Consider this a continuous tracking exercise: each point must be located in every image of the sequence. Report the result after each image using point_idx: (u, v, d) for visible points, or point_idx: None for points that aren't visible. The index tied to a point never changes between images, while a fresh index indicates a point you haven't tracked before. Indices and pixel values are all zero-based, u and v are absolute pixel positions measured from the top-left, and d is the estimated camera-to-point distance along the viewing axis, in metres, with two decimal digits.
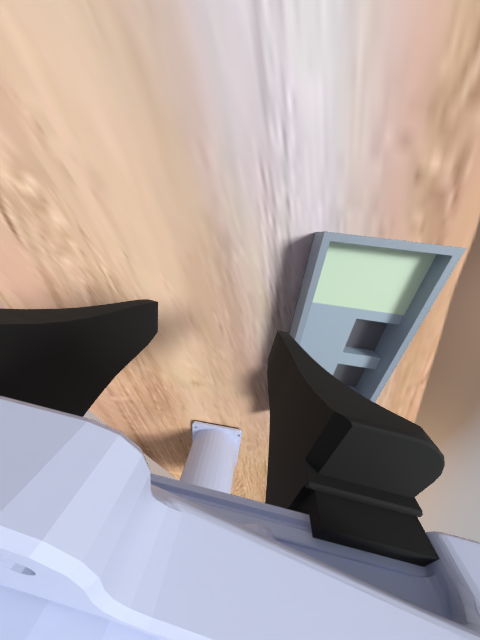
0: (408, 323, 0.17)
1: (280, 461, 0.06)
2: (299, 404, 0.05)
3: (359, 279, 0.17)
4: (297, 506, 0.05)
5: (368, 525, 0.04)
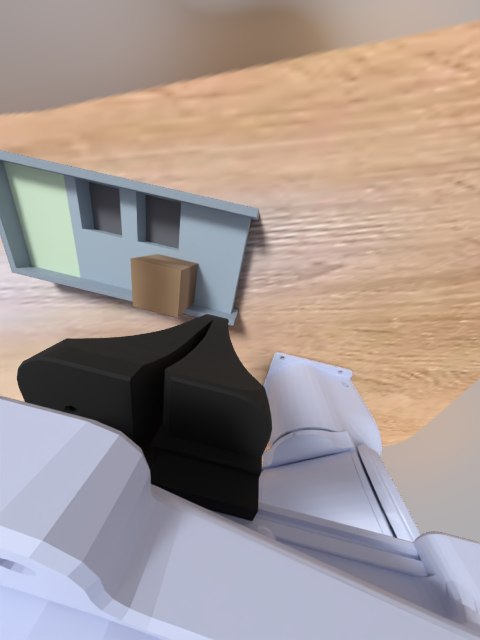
0: (56, 172, 0.15)
1: None
2: None
3: (47, 232, 0.18)
4: None
5: (199, 480, 0.04)
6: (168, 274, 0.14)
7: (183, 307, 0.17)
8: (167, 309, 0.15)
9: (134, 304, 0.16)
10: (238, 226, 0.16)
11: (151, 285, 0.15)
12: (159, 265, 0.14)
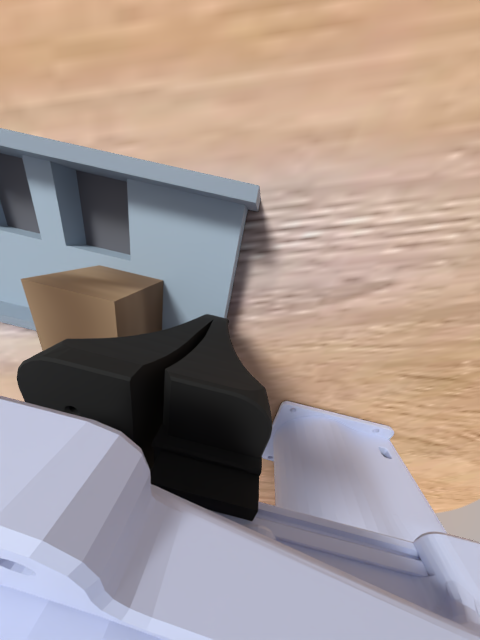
0: None
1: None
2: None
3: None
4: None
5: (199, 480, 0.04)
6: (93, 308, 0.08)
7: None
8: None
9: None
10: (224, 220, 0.09)
11: (67, 325, 0.08)
12: (74, 292, 0.08)
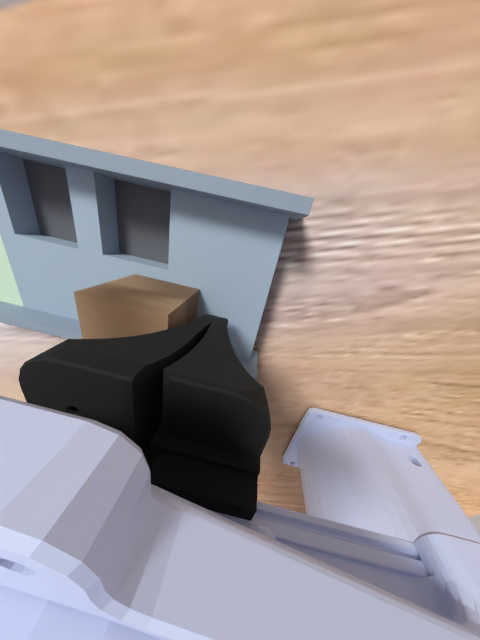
0: None
1: None
2: None
3: None
4: None
5: (197, 480, 0.04)
6: (145, 320, 0.08)
7: None
8: None
9: None
10: (267, 230, 0.09)
11: (115, 337, 0.08)
12: (127, 305, 0.08)
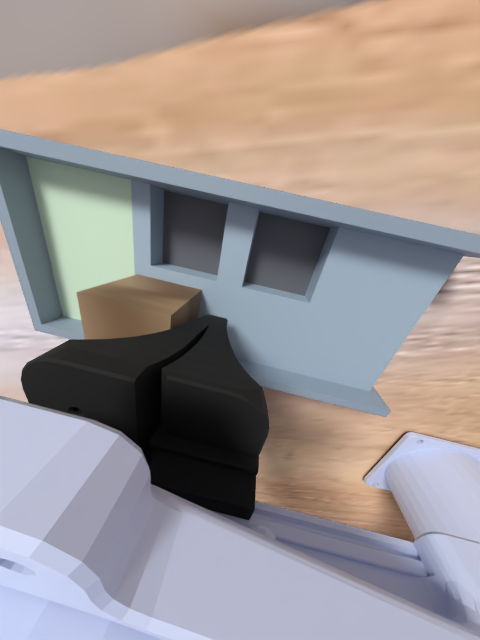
0: (126, 175, 0.08)
1: None
2: None
3: (92, 270, 0.11)
4: None
5: (196, 479, 0.04)
6: (147, 321, 0.08)
7: None
8: None
9: None
10: (434, 267, 0.09)
11: (118, 337, 0.08)
12: (130, 305, 0.08)
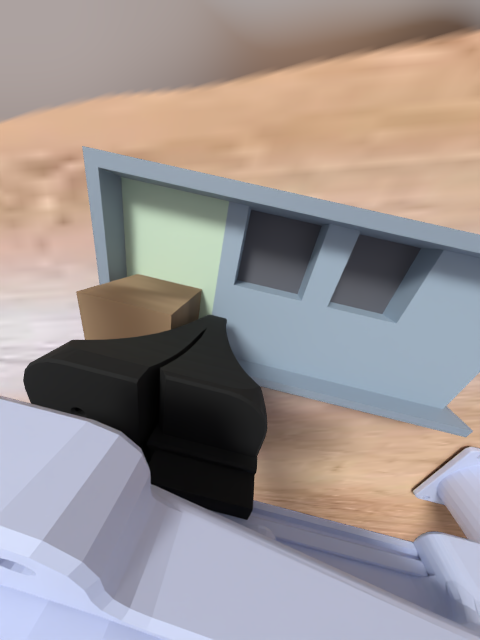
0: (235, 199, 0.08)
1: None
2: None
3: None
4: None
5: (194, 479, 0.04)
6: (148, 320, 0.08)
7: None
8: None
9: None
10: None
11: (118, 337, 0.08)
12: (131, 304, 0.07)
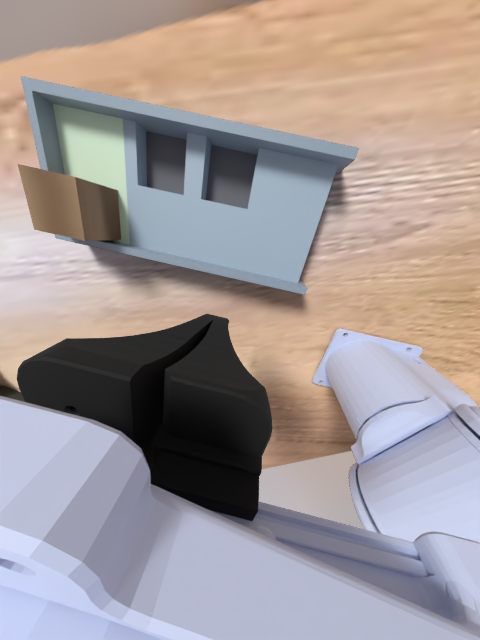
0: (119, 112, 0.13)
1: None
2: None
3: None
4: None
5: (199, 480, 0.04)
6: (62, 183, 0.13)
7: (96, 234, 0.15)
8: (71, 230, 0.14)
9: (35, 226, 0.14)
10: (322, 175, 0.14)
11: (47, 199, 0.13)
12: (51, 172, 0.12)
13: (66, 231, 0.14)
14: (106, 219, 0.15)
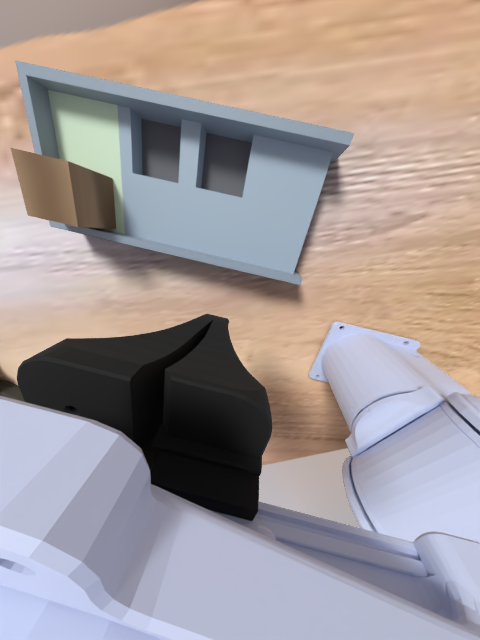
0: (113, 97, 0.13)
1: None
2: None
3: None
4: None
5: (199, 480, 0.04)
6: (55, 167, 0.12)
7: (90, 221, 0.15)
8: (64, 216, 0.14)
9: (29, 212, 0.14)
10: (317, 163, 0.14)
11: (40, 184, 0.13)
12: (44, 156, 0.12)
13: (59, 217, 0.14)
14: (100, 207, 0.15)
